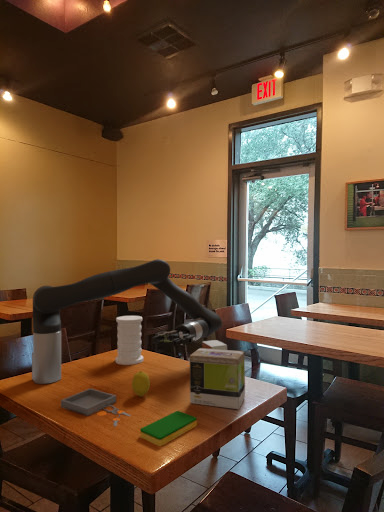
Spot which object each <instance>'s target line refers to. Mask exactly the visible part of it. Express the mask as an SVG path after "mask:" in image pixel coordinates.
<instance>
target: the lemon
mask: <svg viewBox="0 0 384 512" xmlns="http://www.w3.org/2000/svg"><path fill="white" fill-rule="evenodd" d="M150 386H151V382H150V376H149V375H148V374H147V373H146V372H144V371H143V370H140V371H139V372H136V373H135V374H134V375H133V378H132V380H131V388H132V391H133V393H134V394H135V395H138V396H139V397H143V396H144V395H146V394H147V393H148V392H149V389H150Z"/></svg>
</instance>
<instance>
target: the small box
mask: <svg viewBox="0 0 384 512" xmlns="http://www.w3.org/2000/svg"><path fill="white" fill-rule="evenodd" d="M201 348H206V349H220V350H228V345H227V344H226V343H224V342H222V341H220V340H217V339H215V340H213V339H211V340H204V341H203V340H202V342H201Z"/></svg>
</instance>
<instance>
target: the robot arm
mask: <svg viewBox="0 0 384 512" xmlns="http://www.w3.org/2000/svg"><path fill="white" fill-rule="evenodd" d="M170 273H171V267H170V264H169V263H168V262H167V261H165V260H163V259H154V260H153V259H152V260H151V261H147V262H146V263H143V264H139V265H136V266H133V267H126V268H119V269H115V270H110V271H106V272H100V273H98V274H93V275H91V276H89V277H85V278H83V279H81V280H80V281H76V282H73V283H71V284H64V285H58V286H57V285H56V286H52V285H43V286H40V287H39V288H37V289H36V290H35V291H34V293H33V295H32V333H33V335H32V338H33V339H32V340H33V341H32V342H33V343H32V345H33V346H32V347H33V350H32V351H33V352H32V353H31V371H32V372H31V380H33V383H35V384H37V385H38V384H39V385H43V384H52V383H55V382H58V381H60V380H62V320H61V310H62V309H65V308H68V307H71V306H74V305H76V304H79V303H80V304H81V303H86V302H91V301H95V300H100V299H103V298H108V297H109V298H110V297H112V296H115V295H119V294H121V293H124V292H126V291H128V290H131V289H132V288H135V287H138V286H140V285H145V284H150V285H151V286H153V287H154V288H156V289H157V290H159V291H160V292H161V293H163V294H164V295H165V297H168V298H169V299H170V300H171V301H172V302H173V303H175V305H176V306H177V307H179V308H180V310H182V311H183V313H185V314H186V315H187V316H188V317H189V318H190V319H191V320H193V321H187V322H185V323H182V324H178V325H177V326H176V327H175V329H174V330H171V331H167V330H163V331H158V332H156V333H155V334H154V336H152V337H151V343H152V344H157V343H160V342H164V343H171V346H172V347H175V348H176V347H177V346H189V345H191V344H193V343H195V342H197V340H199V339H201V338H207V337H210V336H211V335H212V334H215V332H217V331H218V330H220V329H221V328H222V326H223V320H222V318H221V317H220V315H219V314H218V313H216V312H215V311H212V310H211V309H209V308H207V307H205V306H203V305H202V304H201V303H200V302H199V301H198V300H197V299H196V298H195V297H194V296H193V295H192V294H191V293H189V292H188V291H186V290H184V289H183V288H181V287H180V286H178V285H177V284H176V283H174V281H172V280H171V279H170V277H169V276H170Z"/></svg>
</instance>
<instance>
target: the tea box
mask: <svg viewBox="0 0 384 512" xmlns="http://www.w3.org/2000/svg"><path fill="white" fill-rule="evenodd" d="M245 370H246V369H245V351H244V350H231V349H230V350H229V349H227V350H220V349H206V348H202V347H199V348H198V349H197V350H195V351H194V352H192V353H191V354H190V355H189V395H190V396H189V399H190V400H189V401H190V402H189V403H190V404H194V405H203V406H211V407H219V408H225V409H234V410H240V408H241V406H242V405H243V401H244V400H245V397H246V395H245V394H246V388H245V387H246V382H245V381H246V376H245V375H246V373H245V372H246V371H245Z"/></svg>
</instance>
